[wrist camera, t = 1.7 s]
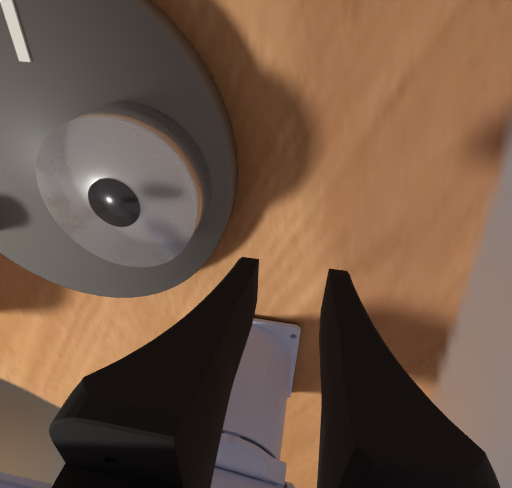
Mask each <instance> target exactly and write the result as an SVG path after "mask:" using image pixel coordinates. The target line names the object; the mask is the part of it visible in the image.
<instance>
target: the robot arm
mask: <svg viewBox="0 0 512 488" xmlns="http://www.w3.org/2000/svg"><path fill="white" fill-rule="evenodd" d="M258 269H259V259H254V258H246V257H242V258H240V259H239V260H238V261H237V263H236V264H235V265H234V267H233V268H232V269H231V270H230V272H229V273H228V274H227V275H226V276H225V278H224V279H223V280H222V281H221V282H220V283H219V284H218V285H217V286H216V287H215V289H214V290H213V291H212V292H211V293H210V294H209V295H208V296H207V297H206V298H205V299H204V300H203V301H201V302H200V303H199V304H198V305H197V306H196V307H195V308H194V309H193V310H192V311H191V312H190V313H188V314H187V315H186V316H185V317H184V318H182V319H181V320H180V321H179V322H177V323H176V324H175V325H173V326H172V327H171V328H169V329H168V330H167V331H165V332H164V333H162V334H161V335H160V336H158V337H157V338H155V339H154V340H152V341H151V342H149V343H148V344H146V345H144V346H143V347H141V348H139V349H138V350H136V351H134V352H132V353H131V354H129V355H127V356H126V357H124V358H122V359H120V360H118V361H117V362H115V363H113V364H110V365H108V366H106V367H104V368H102V369H100V370H98V371H96V372H94V373H92V374H90V375H88V376H85V377H84V378H83V379H82V380H81V382H80V383H79V384H78V385H77V387H76V388H75V389H74V390H73V392H72V393H71V394H70V396H69V397H68V399H67V400H66V402H65V403H64V405H63V406H62V408H61V409H60V411H59V412H58V414H57V415H56V417H55V418H54V420H53V421H52V423H51V424H50V428H49V433H50V436H51V439H52V442H53V443H54V445H55V446H56V448H57V449H58V451H59V453H60V454H61V456H62V458H63V459H64V461H65V463H66V464H65V465H64V467H63V469H62V470H61V472H60V474H59V476H58V477H57V479H56V481H55V483H54V484H50V483H46V482H42V481H38V480H33V479H29V478H25V477H20V476H16V475H11V474H8V473H3V472H0V488H295V486H294V485H293V484H292V483H290V482H286V481H285V474H286V463H285V462H282V461H280V455H281V446H282V437H283V428H284V419H285V411H286V402H287V398H289V397H290V396H291V390H292V384H293V377H294V371H295V365H296V358H297V352H298V346H299V339H300V333H301V328H300V327H299V326H298V325H295V324H289V323H282V322H276V321H269V320H263V319H257V318H254V314H255V309H256V304H257V291H258ZM292 334H294V335H292ZM319 347H320V370H321V393H322V410H321V429H320V447H319V464H318V480H317V488H500V485H499V483H498V480H497V478H496V475H495V473H494V471H493V469H492V467H491V464H490V462H489V460H488V458H487V456H486V453H485V452H484V451H483V450H482V449H481V448H480V447H479V446H477V445H476V444H475V443H474V442H473V441H472V440H471V439H470V438H469V437H468V436H467V435H465V434H464V433H463V432H462V431H461V430H460V429H459V428H458V427H457V426H456V425H454V424H453V423H452V422H451V421H450V420H449V419H448V418H447V417H446V416H445V415H444V414H443V413H442V412H441V411H440V410H439V409H438V408H437V407H436V406H435V405H434V404H433V403H432V401H431V400H430V399H429V398H428V397H427V396H426V395H425V394H424V392H423V391H422V390H421V389H420V388H419V387H418V386H417V385H416V383H415V382H414V381H413V380H412V379H411V378H410V376H409V375H408V374H407V373H406V371H405V370H404V369H403V368H402V366H401V365H400V364H399V362H398V361H397V360H396V358H395V357H394V356H393V354H392V353H391V351H390V350H389V348H388V347H387V346H386V344H385V343H384V341H383V339H382V338H381V336H380V335H379V333H378V331H377V330H376V328H375V327H374V325H373V323H372V321H371V320H370V318H369V316H368V314H367V312H366V310H365V308H364V306H363V305H362V303H361V301H360V298H359V296H358V294H357V292H356V290H355V287H354V285H353V283H352V280H351V277H350V274H349V273H348V272H347V271H343V270H335V269H329V272H328V277H327V282H326V287H325V292H324V297H323V302H322V307H321V316H320V330H319Z"/></svg>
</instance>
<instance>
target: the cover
mask: <svg viewBox="0 0 512 488" xmlns="http://www.w3.org/2000/svg"><path fill="white" fill-rule="evenodd" d="M36 177H37V183H38V187H39V190H40V194H41V196H42V198H43V201H44V203H45V205H46V207H47V209H48V210H49V212H50V214H51V215H52V217H53V218H54V219H55V221H56V222H57V223H58V225H59V226H60V227H61V228H62V229H63V230H64V231H65V232H66V233H67V234H68V235H69V236H70V237H71V238H72V239H73V240H74V241H75V242H77V243H78V244H79V245H81V246H82V247H83V248H85V249H86V250H88V251H89V252H91V253H93V254H94V255H96V256H98V257H100V258H102V259H105V260H107V261H110V262H113V263H116V264H119V265H124V266H129V267H152V266H157V265H161V264H164V263H166V262H168V261H170V260H172V259H173V258H175V257H176V256H177V255H179V254H180V253H181V252H182V251H183V249H184V248H185V247H186V245H187V244H188V242H189V240H190V239H191V237H192V235H193V234H194V232H195V230H196V228H197V227H198V225H199V223H200V222H201V220H202V218H203V217H204V215H205V213H206V211H207V209H208V206H209V203H210V199H211V188H212V184H211V176H210V172H209V168H208V165H207V162H206V160H205V157H204V155H203V153H202V151H201V150H200V148H199V146H198V145H197V143H196V142H195V140H194V139H193V138H192V137H191V136H190V134H189V133H188V132H187V131H186V130H185V129H184V128H183V127H182V126H181V125H180V124H179V123H177V122H176V121H175V120H173V119H172V118H171V117H169V116H168V115H166V114H164V113H162V112H161V111H159V110H156V109H154V108H152V107H150V106H146V105H143V104H139V103H133V102H115V103H109V104H106V105H103V106H100V107H98V108H96V109H94V110H92V111H90V112H88V113H85V114H83V115H81V116H79V117H77V118H75V119H73V120H71V121H68V122H66V123H64V124H62V125H61V126H59V127H57V128H55V129H54V130H53V131H52V132H51V133H49V135H48V136H47V137H46V138H45V140H44V141H43V143H42V145H41V147H40V149H39V152H38V155H37V161H36Z"/></svg>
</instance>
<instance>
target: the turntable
mask: <svg viewBox="0 0 512 488" xmlns="http://www.w3.org/2000/svg"><path fill="white" fill-rule="evenodd" d="M115 102H133V103H139V104H143V105H146V106H150V107H152V108H154V109H156V110H159V111H161V112H162V113H164V114H166V115H168V116H169V117H171V118H172V119H173V120H175V121H176V122H177V123H179V124H180V125H181V126H182V127H183V128H184V129H185V130H186V131H187V132H188V133H189V134H190V136H191V137H192V138H193V139H194V140H195V142H196V143H197V145H198V146H199V148H200V150H201V151H202V153H203V155H204V157H205V160H206V162H207V165H208V168H209V172H210V176H211V184H212V188H211V199H210V203H209V206H208V209H207V211H206V213H205V215H204V217H203V218H202V220H201V222H200V223H199V225H198V227H197V228H196V230H195V232H194V234H193V235H192V237H191V239H190V240H189V242H188V244H187V245H186V247H185V248H184V249H183V251H182V252H181V253H180V254H179V255H177V256H176V257H175V258H173V259H172V260H170V261H168V262H166V263H164V264H161V265H157V266H152V267H129V266H124V265H119V264H116V263H113V262H110V261H107V260H105V259H102V258H100V257H98V256H96V255H94V254H93V253H91V252H89V251H88V250H86V249H85V248H83V247H82V246H81V245H79V244H78V243H77V242H75V241H74V240H73V239H72V238H71V237H70V236H69V235H68V234H67V233H66V232H65V231H64V230H63V229H62V228H61V227H60V226H59V225H58V223H57V222H56V221H55V219H54V218H53V217H52V215H51V214H50V212H49V210H48V209H47V207H46V205H45V203H44V201H43V198H42V196H41V194H40V190H39V187H38V183H37V177H36V161H37V155H38V152H39V149H40V147H41V145H42V143H43V141H44V140H45V138H46V137H47V136H48V135H49V133H51V132H52V131H53V130H54V129H55V128H57V127H59V126H61V125H62V124H64V123H66V122H68V121H71V120H73V119H75V118H77V117H79V116H81V115H83V114H85V113H88V112H90V111H92V110H94V109H96V108H98V107H100V106H103V105H106V104H109V103H115ZM237 174H238V170H237V155H236V147H235V142H234V137H233V132H232V127H231V124H230V121H229V118H228V114H227V111H226V108H225V105H224V102H223V100H222V98H221V96H220V94H219V91H218V89H217V87H216V85H215V83H214V81H213V78H212V77H211V75H210V73H209V72H208V70H207V68H206V67H205V65H204V63H203V62H202V60H201V58H200V57H199V55H198V53H197V52H196V51H195V49H194V48H193V47H192V45H191V44H190V43H189V41H188V40H187V39H186V38H185V36H184V35H183V34H182V32H181V31H180V30H179V29H178V27H177V26H176V25H175V24H174V23H173V22H172V21H171V20H170V19H169V18H168V17H167V16H166V15H165V14H164V13H163V12H162V11H161V10H160V9H159V8H158V7H157V6H156V5H155V4H154V3H153V2H152V1H150V0H0V253H1V254H2V255H4V256H5V257H7V258H8V259H10V260H11V261H13V262H14V263H16V264H18V265H19V266H21V267H23V268H25V269H26V270H28V271H30V272H31V273H34V274H36V275H38V276H40V277H42V278H44V279H46V280H48V281H50V282H53V283H56V284H58V285H61V286H63V287H66V288H69V289H73V290H76V291H79V292H83V293H88V294H93V295H98V296H106V297H115V298H132V297H140V296H148V295H152V294H156V293H160V292H163V291H165V290H168V289H170V288H173V287H175V286H177V285H179V284H180V283H182V282H184V281H185V280H187V279H189V278H190V277H191V276H192V275H193V274H195V273H196V272H197V271H198V270H199V269H200V268H201V267H202V266H203V265H204V263H205V262H206V261H207V260H208V259H209V258H210V256H211V254H212V253H213V251H214V249H215V248H216V246H217V244H218V242H219V240H220V238H221V236H222V234H223V232H224V229H225V227H226V225H227V222H228V220H229V217H230V215H231V212H232V209H233V205H234V200H235V195H236V188H237Z"/></svg>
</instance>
